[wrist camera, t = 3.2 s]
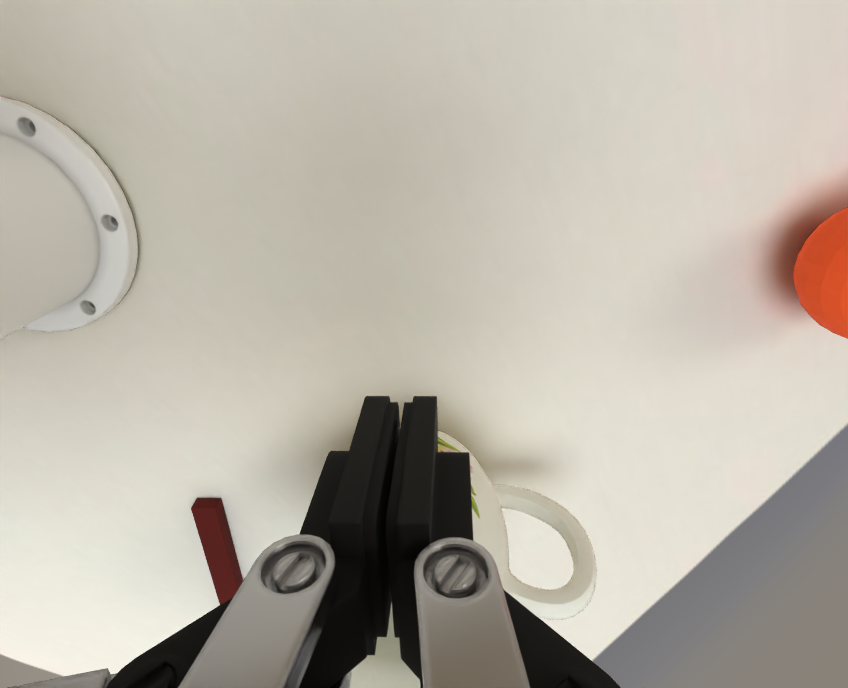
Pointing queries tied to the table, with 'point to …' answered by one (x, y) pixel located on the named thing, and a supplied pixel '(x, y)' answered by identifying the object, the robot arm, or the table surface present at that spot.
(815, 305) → the clementine
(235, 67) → the table surface
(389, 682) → the pitcher
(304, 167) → the table surface
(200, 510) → the spatula
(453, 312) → the table surface
